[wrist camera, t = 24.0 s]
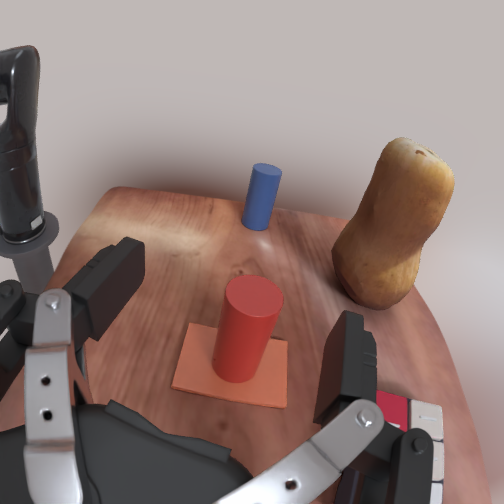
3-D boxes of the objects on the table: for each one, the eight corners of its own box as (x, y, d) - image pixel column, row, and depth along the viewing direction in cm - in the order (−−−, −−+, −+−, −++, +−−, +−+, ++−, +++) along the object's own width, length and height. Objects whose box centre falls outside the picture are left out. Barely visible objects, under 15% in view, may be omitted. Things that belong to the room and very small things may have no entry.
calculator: (445, 402, 28) (446, 517, 16) (425, 420, 31) (420, 526, 18) (369, 382, 30) (351, 511, 18) (352, 401, 32) (329, 519, 20)
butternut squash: (408, 306, 47) (481, 174, 33) (364, 338, 40) (456, 173, 25) (352, 257, 56) (404, 130, 41) (301, 277, 48) (357, 120, 34)
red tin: (208, 378, 31) (221, 309, 24) (215, 341, 35) (230, 269, 28) (255, 387, 31) (283, 321, 24) (258, 350, 35) (284, 280, 29)
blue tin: (240, 227, 56) (252, 170, 50) (243, 213, 60) (254, 161, 54) (267, 233, 56) (282, 177, 50) (268, 219, 61) (282, 167, 54)
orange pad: (171, 388, 29) (171, 385, 29) (189, 325, 37) (189, 321, 36) (284, 408, 30) (286, 406, 30) (286, 344, 37) (287, 341, 37)
